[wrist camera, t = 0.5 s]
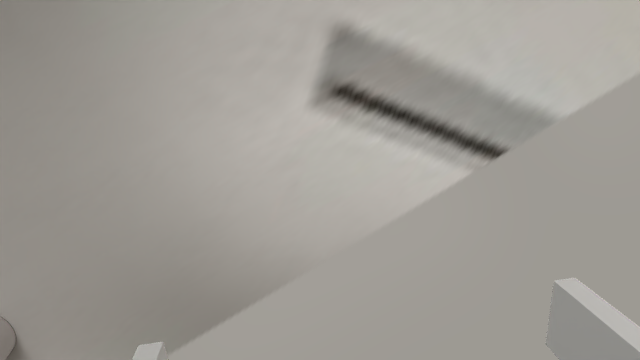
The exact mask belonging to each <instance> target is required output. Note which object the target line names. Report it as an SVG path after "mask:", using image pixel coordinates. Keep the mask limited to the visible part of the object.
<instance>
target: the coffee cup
mask: <svg viewBox="0 0 640 360" xmlns="http://www.w3.org/2000/svg"><path fill="white" fill-rule="evenodd" d="M15 342H16V337H15V333H14V330H13V328H12V327H11V325H10V324H9V323H8V322H7V321H6V320H4V319H3V318H2V317H0V360H5V359H6V358H7V356H8V355H9V354H10V352H11V351H12V350H13V348H14V346H15Z"/></svg>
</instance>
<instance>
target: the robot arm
mask: <svg viewBox="0 0 640 360" xmlns="http://www.w3.org/2000/svg"><path fill="white" fill-rule="evenodd" d="M546 345H547V347H548V348H549V349H550V350H551V351H552V352H553V353H554V354H555V355H556V356H557V357H558V359H559V360H640V327H639V326H638V325H636V324H635V323H634V322H632V321H631V320H630V319H629V318H627V317H626V316H625V315H623V314H622V313H621V312H619V311H618V310H617V309H616V308H614V307H613V306H612V305H610V304H609V303H607V302H606V301H605V300H604V299H602V298H601V297H600V296H598V295H597V294H596V293H594V292H593V291H592V290H591V289H589V288H588V287H587V286H585V285H584V284H583V283H581V282H580V281H579V280H577V279H576V278H568V279H562V280H555V281H554V283H553V291H552V299H551V307H550V316H549V323H548V331H547V339H546ZM132 360H169V359H168V356H167V352H166V349H165V345H164V342H156V343H150V344H143V345H139V346H138V348H137V350H136V352H135V354H134V356H133V359H132Z"/></svg>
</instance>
